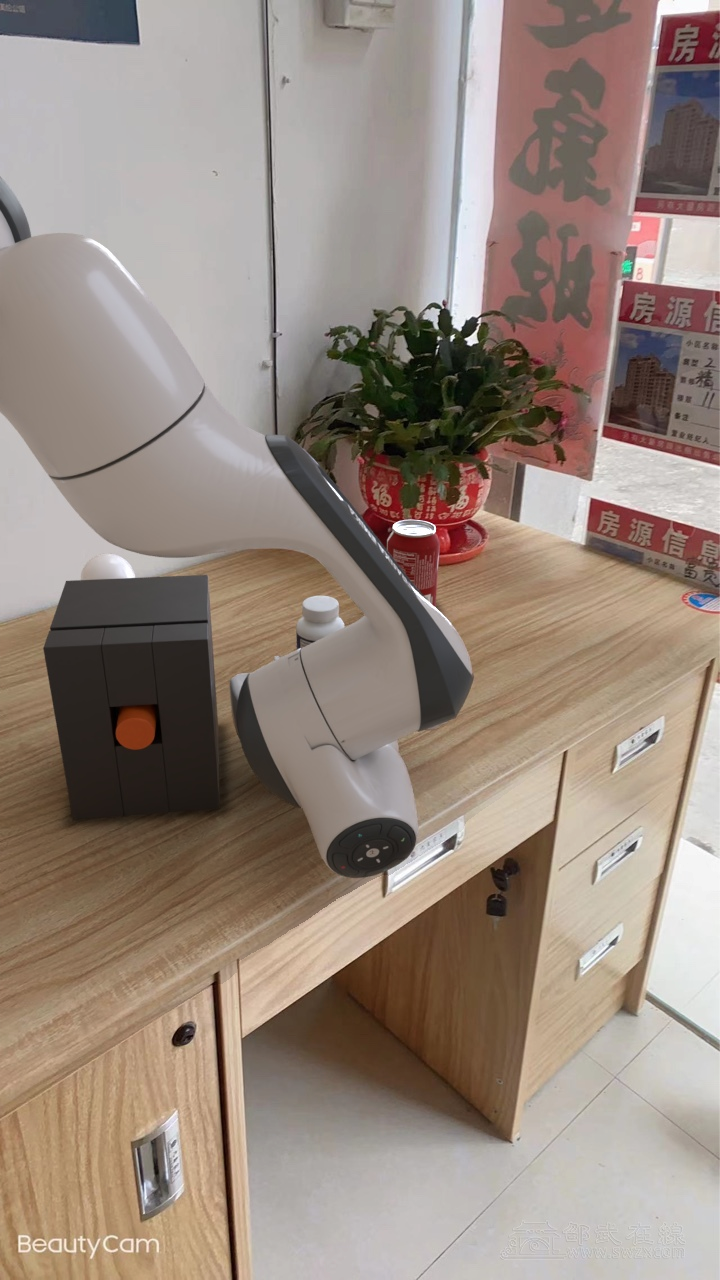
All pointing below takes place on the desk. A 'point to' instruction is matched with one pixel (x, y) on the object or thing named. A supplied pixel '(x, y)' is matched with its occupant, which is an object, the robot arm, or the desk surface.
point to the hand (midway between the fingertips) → (326, 658)
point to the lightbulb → (107, 568)
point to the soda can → (417, 554)
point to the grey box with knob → (135, 694)
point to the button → (136, 726)
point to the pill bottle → (317, 620)
